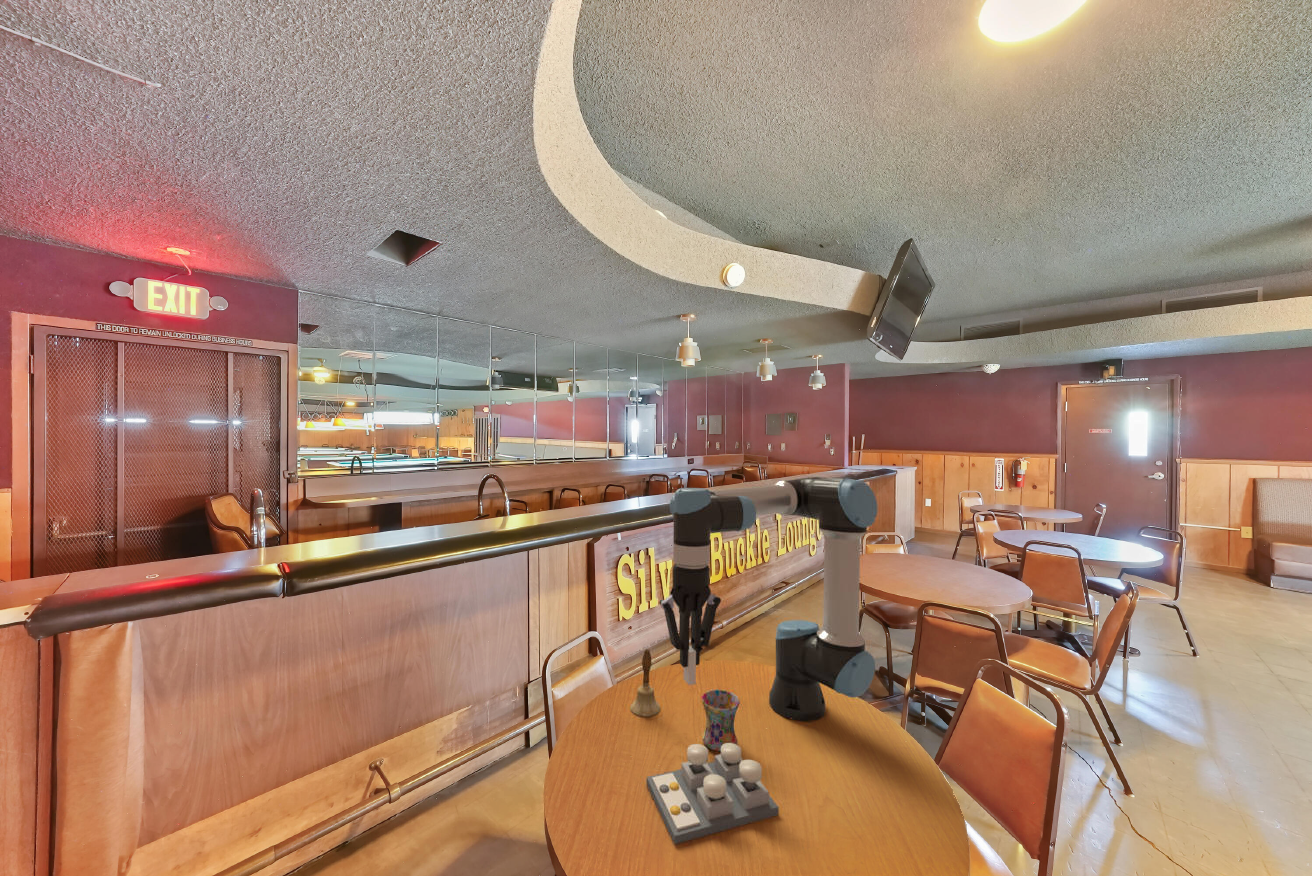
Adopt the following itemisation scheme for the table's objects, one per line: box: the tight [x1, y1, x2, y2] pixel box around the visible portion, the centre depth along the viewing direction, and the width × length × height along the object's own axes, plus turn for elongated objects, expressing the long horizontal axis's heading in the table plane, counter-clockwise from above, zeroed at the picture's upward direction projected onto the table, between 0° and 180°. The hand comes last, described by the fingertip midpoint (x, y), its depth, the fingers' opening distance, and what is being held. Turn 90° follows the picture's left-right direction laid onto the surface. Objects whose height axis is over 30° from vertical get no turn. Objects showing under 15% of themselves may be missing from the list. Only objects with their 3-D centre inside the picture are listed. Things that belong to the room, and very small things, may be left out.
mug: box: [700, 689, 741, 752], centre depth 115 cm, size 12×9×11 cm
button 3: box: [686, 743, 709, 773], centre depth 99 cm, size 4×4×4 cm
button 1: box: [720, 743, 742, 766], centre depth 101 cm, size 4×4×4 cm
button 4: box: [703, 774, 726, 802], centre depth 91 cm, size 4×4×4 cm
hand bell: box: [629, 648, 661, 718], centre depth 128 cm, size 8×8×16 cm
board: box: [646, 753, 780, 845], centre depth 95 cm, size 22×16×4 cm
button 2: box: [739, 759, 763, 790], centre depth 94 cm, size 4×4×4 cm
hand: (689, 681), depth 94 cm, fingers closed
